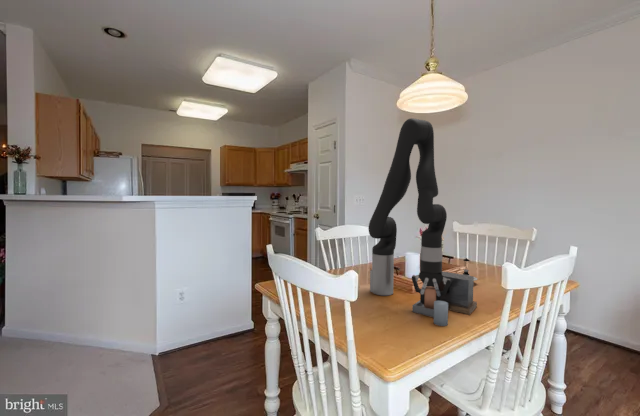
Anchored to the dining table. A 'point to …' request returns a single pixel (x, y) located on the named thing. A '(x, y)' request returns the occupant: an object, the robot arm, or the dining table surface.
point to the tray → (422, 309)
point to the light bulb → (467, 270)
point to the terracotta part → (429, 297)
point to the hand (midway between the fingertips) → (430, 304)
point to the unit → (459, 293)
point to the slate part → (441, 313)
